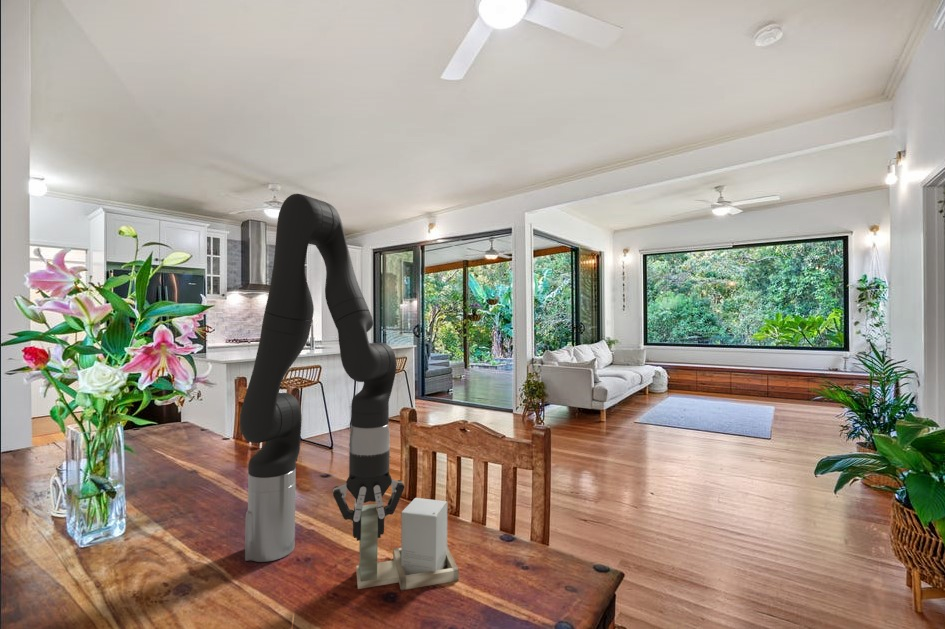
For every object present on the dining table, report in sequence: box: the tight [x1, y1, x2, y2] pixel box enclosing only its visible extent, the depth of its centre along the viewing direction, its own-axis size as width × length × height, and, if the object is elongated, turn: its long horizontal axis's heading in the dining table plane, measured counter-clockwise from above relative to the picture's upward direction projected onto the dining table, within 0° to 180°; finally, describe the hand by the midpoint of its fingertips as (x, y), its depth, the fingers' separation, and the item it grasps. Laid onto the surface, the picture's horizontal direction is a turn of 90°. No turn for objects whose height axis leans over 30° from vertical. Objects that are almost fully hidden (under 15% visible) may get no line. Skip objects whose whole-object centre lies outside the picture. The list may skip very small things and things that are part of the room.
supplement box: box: [400, 497, 448, 575], centre depth 88 cm, size 7×7×13 cm
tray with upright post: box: [355, 503, 460, 591], centre depth 87 cm, size 18×11×13 cm, turn 107°
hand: (368, 536), depth 85 cm, fingers closed on tray with upright post, 3 cm apart
